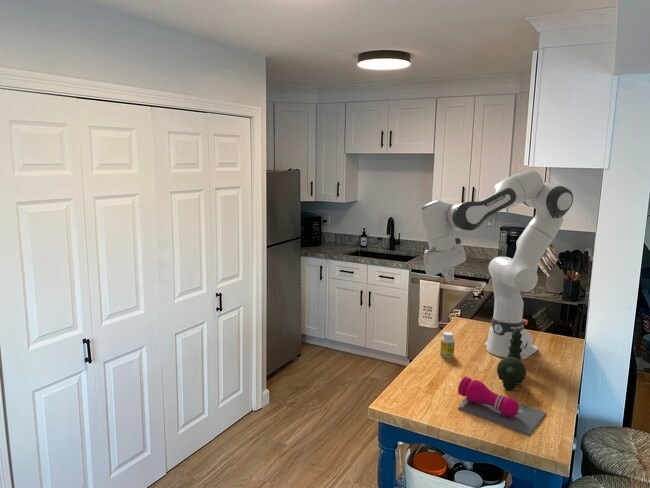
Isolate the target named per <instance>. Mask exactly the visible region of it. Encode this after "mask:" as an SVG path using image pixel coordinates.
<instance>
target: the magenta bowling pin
mask: <svg viewBox="0 0 650 488" xmlns="http://www.w3.org/2000/svg"><path fill="white" fill-rule="evenodd" d="M457 393H458V395H460V396H462V397H465V398H466V397H467V399H468V400H469V401H470V402H473V403H479V404H487V405H490V406H492V407H494V408H495V410H498V411H501V412H502V414H503V415H504V416H506V417H509V418H512V417H514V416H516V415H517V414H518V415H522V414H523V411H522V410H521V409H519V404H518V403H519V402H518V400H516V399H515V398H513V397H511V396H508V397H506V395H502V394H497V393H495V392H493V391H492V390H490V388H489V387H487V385H486V384H484V383H483V382H482V381H480V380H478V379H473V380H472V378H471V377H468V376H464V377H463V378H462V379H461V380H460V382H459V384H458V387H457Z"/></svg>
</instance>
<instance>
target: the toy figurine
mask: <svg viewBox="0 0 650 488" xmlns="http://www.w3.org/2000/svg"><path fill="white" fill-rule="evenodd" d="M521 337H522V334H521V333H520V330H519V329H518V328H515V329H514V330H513V333H512V339H510V343H511V346H510V347H509V354H508V357H506V358H505V357H503V358H502V359H501V360H500V361H499V362H498V364H497V366H496V373H497V376H498V379H499V380H501V381H502V382H503V383H502V385H503V388H504V389H506V390H507V391H515V390H516V389H517V385H519V384H520V385H521V384H522V382H523V381H524V380H525V379H526V376H527V369H526V366H525V364H524V363H523V362H522V359H521V355H520V353H521V352H522V349H521V347H520V346H521V344H522V343H523V342H522V341H521V340H520V339H521Z"/></svg>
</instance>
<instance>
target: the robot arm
mask: <svg viewBox="0 0 650 488" xmlns="http://www.w3.org/2000/svg"><path fill="white" fill-rule="evenodd" d="M573 202H574V193H573V192H572V191H571V189H569V188H568V187H565V186H564V185H559V184H555V183H553V182H545V181H544V179H543V177H542V176H541V174H540V173H539V172H537V171H535V170H533V169H532V170H530V169H529V170H525V171H522V172H519V173H515V174H512V175H510V176H508V177H505V178H504V179H502V180H501V181H499V182H498V183H495V184H494V186H493V188H492V194H491V195H489V196H486V197H485V198H483V199H481V200H479V201H465V202H461V203H458V204H454V203H447V202H443V201H442V200H440V199H436V200H433V201H430V202H428V203H427V204H424V205H423V206H422V208H421V212H420V215H421V222H422V224H423V225H422V226H423V229H424V231H425V233H426V240H427V245H428V248H429V249H426V250H424V253H423V265H424V270H425V271H424V272H425V274H426V275H427V276H428V277H429V276H430V277H431V276H436V275H439V274H441V275H442V276H443V278H445V279H444V280H445V282H448V283H449V282H452V281H454V280H455V276H454V274H455V267H456V266H459V265H461V264H463V263H465V262H467V261H466V260H467V255H466V251H465V247H464V245H463V240H462V238H461V237H456V236H452V231H474V230H476V229H478V228H480V226H481V225H482V224H483V223H484V221H485V220H487V218H489V217H490V216H492V215H494V214H496V213H498V212H500V211H502V210H503V209H509V208H513V207H516V206H518V205H520V204H524V205H525V206H527V207H529V208H533V209H535V214H534V217H533V218H532V219H531V220H530V222H528V224H527V225H526V227H525V229H524V230H523V231H522V233H521V234H520V235H519V237H518V239H517V240H516V243H515V244H516V246H515V247H516V249H515V253H514V255H513V258H511V257H508V256H496V257H494V258H493V259H492V260H490V261H489V263H488V272H489V275H490V277H491V282H492V288H493V293H494V295H493V296H494V304H493V307H494V308H493V316H492V319H491V326H490V327H489V330H488V335H487V341H485V342H484V345H485V347H486V352H488V353H490V354H492V355H494V356H497V357H500V358H506V357H508V354H509V347H510V346H511V343H510V339H512V333H513V330H514V329H515V328H518V329H519V330H520V333H521V334H522V337H521V339H520V340H521V341H522V342H523V343H522V344H521V346H520V347H521V349H522V352H521V353H520V355H521V360H527V359H528V358H529V357H531V356H532V355H534V353H536V352H538V350H539V347H538V346H537V345H535V344H533V336H532V334H531V333H529V332H528V331H527V330H526V329H525V326H527V325H528V323H529V321H528V319H525V318H523V315H524V305H525V304H524V300H523V298H522V295H521V292H525V293H527V292H529V291H532V290H533V289H534V288H535V287H536V286H537V284H538V280H539V276H538V268H539V265H540V262H541V259H542V258H543V256H544V254H545V252H546V251H547V249H548V247H550V245H551V244H552V242H553V241H554V239H555V237H556V236H557V234H558V232H559V231H560V228H561V226H562V225H563V222H564V217H563V216H565V215H566V213H568V211H569V210H570V209H571V207H572V205H573V204H574V203H573ZM524 325H525V326H524Z"/></svg>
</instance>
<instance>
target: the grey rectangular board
mask: <svg viewBox="0 0 650 488" xmlns="http://www.w3.org/2000/svg"><path fill="white" fill-rule="evenodd" d="M518 404H519V409H521V410H522V411H523V414H522V415H518V414H517V415H516V416H514V417H512V418H509V417H506V416H504V415H503V414H502V412H501V411H498V410H495V408H494V407H492V406H490V405H487V404H479V403H473V402H469V403H468V404H467V405H465V406H464V407H460V405H459V406H458V407H457V408H458V410H459V411H462V412H465V413H467V414H469V415H473V416H475V417H478V418H480V419H483V420H486V421H489V422H491V423H494V424H495V425H500V426H502V427H505V428H506V429H507V428H508V429H509V430H510V429H511V430H513V431H515V432H518V433H521V434H524V435H525V436H528V437H529V436H531V435H532V434H533V432H534V430H535V429H536V428H537V427H538V425H540V423H541V421H542V420H543V419H544V418H545V416H546V415H547V412H545V411H543V410H540V409H537V408H534V407H532V406H528V405H525V404H522V403H519V402H518Z"/></svg>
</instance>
